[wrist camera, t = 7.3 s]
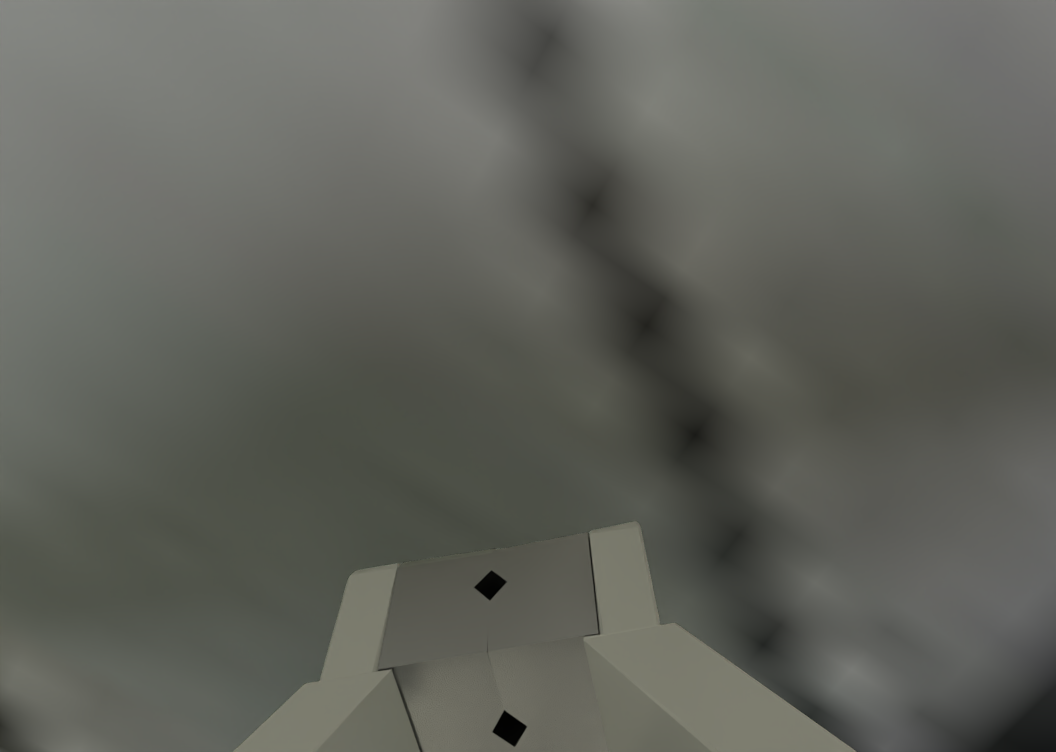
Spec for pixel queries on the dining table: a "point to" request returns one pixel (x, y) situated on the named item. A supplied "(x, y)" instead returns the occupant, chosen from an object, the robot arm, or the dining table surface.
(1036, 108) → the dining table surface
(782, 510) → the dining table surface
